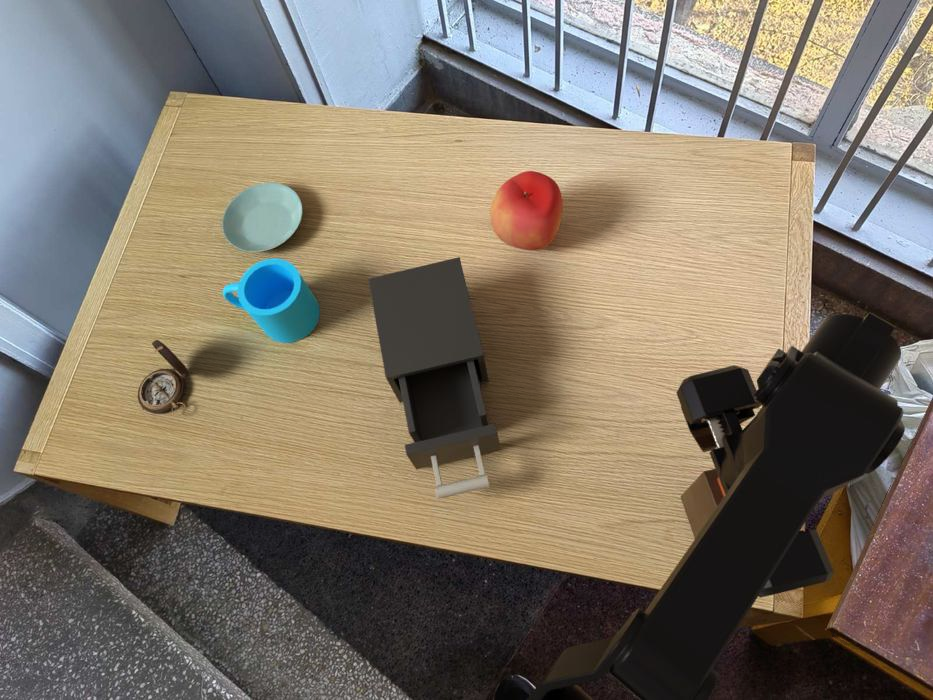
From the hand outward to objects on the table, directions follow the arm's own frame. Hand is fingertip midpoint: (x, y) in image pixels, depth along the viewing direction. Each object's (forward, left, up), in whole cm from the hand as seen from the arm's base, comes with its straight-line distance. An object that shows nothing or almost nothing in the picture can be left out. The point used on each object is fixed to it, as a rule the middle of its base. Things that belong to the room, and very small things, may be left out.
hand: (725, 494), depth 65 cm
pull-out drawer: (+17, +25, -12) cm, 32 cm away
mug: (+39, +45, -13) cm, 61 cm away
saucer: (+54, +45, -14) cm, 71 cm away
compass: (+31, +60, -13) cm, 69 cm away
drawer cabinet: (+29, +25, -13) cm, 40 cm away
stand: (0, -2, -13) cm, 13 cm away
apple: (+42, +9, -14) cm, 45 cm away
